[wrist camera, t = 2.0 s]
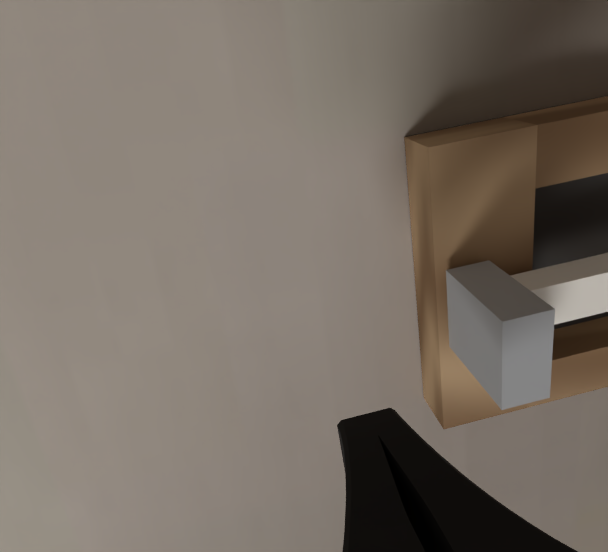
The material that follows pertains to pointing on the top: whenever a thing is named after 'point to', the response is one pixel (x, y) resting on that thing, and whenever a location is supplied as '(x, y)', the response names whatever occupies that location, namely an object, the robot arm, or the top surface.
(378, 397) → the top surface
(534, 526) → the robot arm
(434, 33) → the top surface
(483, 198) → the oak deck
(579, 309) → the sliding frame
